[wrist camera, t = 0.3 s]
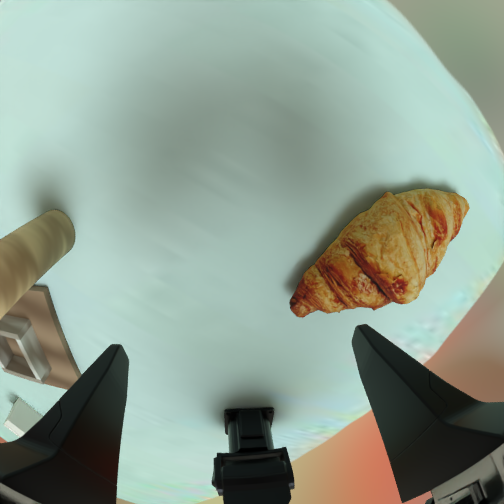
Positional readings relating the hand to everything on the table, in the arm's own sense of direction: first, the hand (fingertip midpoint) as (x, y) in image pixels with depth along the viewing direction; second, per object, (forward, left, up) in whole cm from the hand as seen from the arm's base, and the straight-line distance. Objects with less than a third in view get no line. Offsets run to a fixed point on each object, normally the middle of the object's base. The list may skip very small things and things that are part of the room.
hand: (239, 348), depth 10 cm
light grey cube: (-35, +39, -15) cm, 55 cm away
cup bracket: (-14, +27, -14) cm, 34 cm away
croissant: (-1, -14, -15) cm, 21 cm away
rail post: (0, +16, -14) cm, 22 cm away
